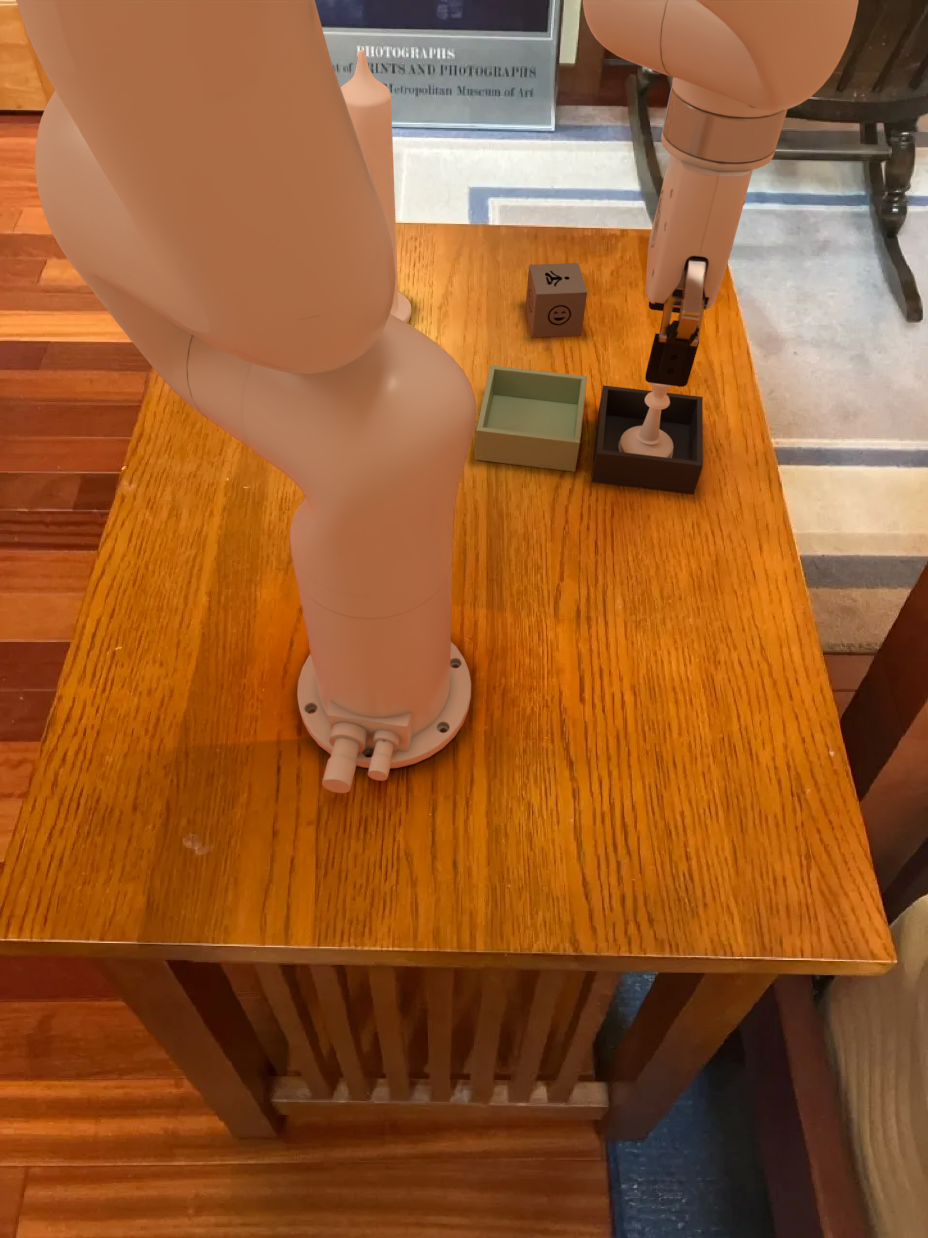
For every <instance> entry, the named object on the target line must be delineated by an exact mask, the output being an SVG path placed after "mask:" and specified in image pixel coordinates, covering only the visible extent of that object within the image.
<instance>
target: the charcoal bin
mask: <svg viewBox="0 0 928 1238" xmlns="http://www.w3.org/2000/svg"><path fill="white" fill-rule="evenodd" d="M650 392H652V390H647V389H638V388H630V387H622V386H613V385H602V389H601V394H600V399H599V400H600V401H599V405H598V412H597V418H596V430H595V439H594V447H593V448H594V450H593V459H592V460H593V461H592V468H591V469H592V470H591V481H590V482H591V483H596V484H603V485H604V484H605V485H613V486H620V487H629V488H637V489H645V490H653V491H660V492H661V491H662V492H671V493H676V494H686V495H695V493H696V489H697V485H698V483H699V480H700V476H701V473H702V469H703V467H704V434H703V431H704V427H703V426H704V423H703V421H704V418H703V417H704V416H703V415H704V414H703V413H704V412H703V411H704V410H703V408H704V407H703V405H704V404H703V403H704V402H703V401H704V397H703V396H700V395H699V396H698V395H691V394H682V393H674V392H668V393H667V394H666V395H667V396H668V397H669V400H670V404H669V406H668V407H667V408H665V409H662V410H661V415H660V426H659V429H660V430H662V431H664V432H665V433H666V434H667V435H668V436H669V437H670V438H671V440H672V442H673V456H672V458H666V457H658V456H650V455H641V454H633V453H625V452H619V449H618V444H619V441H620V439H621V436H622V435H623V433H624V432H625V431H626V430H628V429H630V428H632V427H636V426H643V423H644V421H645V418H646V416H647V413H648V410H649V408H650V407H649V406H647V405H646V403H645V397H646V396H647V394H648V393H650Z"/></svg>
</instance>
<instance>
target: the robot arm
mask: <svg viewBox="0 0 928 1238" xmlns="http://www.w3.org/2000/svg"><path fill="white" fill-rule="evenodd" d="M15 1H16V4H17V8H18V11H19V14H20V18H21V20H22V22H23V26H24V29H25V31H26V34H27V37H28V39H29V42H30V44H31V46H32V48H33V51H34V53H35V55H36V57H37V59H38V61H39V64H40V65H41V67H42V69H43V72H44V73H45V75H46V77H47V78H48V80H49V82H50V84H51V86H52V87H53V89H54V92H53V93H52V95H51V97H50V98H49V101H48V102H47V104H46V106H45V108H44V110H43V113H42V116H41V119H40V122H39V125H38V129H37V134H36V141H35V151H34V172H35V181H36V188H37V193H38V198H39V201H40V204H41V209H42V211H43V214H44V217H45V220H46V222H47V225H48V227H49V230H50V231H51V234H52V236H53V237H54V239H55V241H56V243H57V244H58V246H59V248H60V250H61V251H62V253H63V255H64V256H65V257H66V259H67V260H68V262H69V263H70V265H72V267H73V268H74V269H75V271H76V272H77V274H78V275H79V276H80V278H81V279H82V280H83V281H84V283H85V284H86V285H87V286H88V288H89V289H90V290H91V292H92V293H93V294H94V295H95V296H96V298H97V299H98V300H99V302H100V303H101V304H102V306H103V307H104V308H105V309H106V311H107V312H108V313H109V314H110V315H111V317H112V318H113V320H114V321H115V322H116V324H118V326H119V327H120V328H121V330H122V332H124V333H125V335H126V336H127V337H128V338H129V340H130V341H131V342H132V344H133V345H134V346H135V347H136V348H137V350H138V351H139V353H141V355H142V357H144V359H145V360H146V361H147V362H148V364H149V365H150V366H151V367H152V368H153V370H154V371H155V372H156V373H157V374H158V375H159V376H160V378H161V379H162V380H163V381H164V382H165V383H166V385H167V386H169V388H170V389H171V390H172V391H173V392H174V393H176V395H177V396H178V397H179V398H180V399H181V400H182V401H184V403H185V404H187V405H188V406H189V407H190V408H192V409H193V410H195V411H196V412H197V413H199V414H200V415H201V416H203V417H204V418H206V419H207V420H208V421H210V423H212V424H214V425H215V426H217V427H218V428H220V429H221V430H222V431H224V432H226V433H227V434H228V435H230V436H231V437H233V438H234V439H236V440H237V441H238V442H240V443H241V444H243V445H244V446H246V447H247V448H249V449H250V450H252V451H253V452H254V453H256V454H257V456H259V457H260V458H262V459H263V460H264V461H266V462H267V463H269V464H270V465H272V466H273V467H275V468H276V469H277V470H279V471H280V472H281V473H282V474H284V475H285V476H287V478H289V479H290V480H291V481H292V482H293V483H295V485H296V486H297V487H298V489H300V490H301V492H302V493H303V495H304V496H305V497H304V499H303V500H302V501H301V502H300V504H299V505H298V507H297V509H296V510H295V512H294V514H293V516H292V520H291V524H290V530H289V546H290V554H291V561H292V566H293V570H294V574H295V578H296V584H297V588H298V593H299V599H300V604H301V610H302V615H303V619H304V624H305V625H304V626H305V629H306V635H307V640H308V646H309V651H310V653H309V655H308V656H307V658H306V660H305V662H304V664H303V665H302V667H301V671H300V674H299V676H298V680H297V691H296V696H297V703H298V709H299V713H300V716H301V720H302V723H303V724H304V726H305V728H306V730H307V732H308V735H310V737H311V738H312V739H313V741H315V743H316V744H317V745H318V746H319V747H320V748H322V749H323V750H324V751H326V753H328V754H329V755H330V757H329V758H328V759H327V763H326V767H325V770H324V773H323V777H322V781H321V784H322V786H323V788H324V789H325V790H327V791H329V792H332V793H337V794H346V793H349V792H351V788H352V785H353V781H354V777H355V773H356V768H357V767H360V768H365V769H368V770H367V776H368V777H369V778H370V779H372V780H375V781H379V782H380V781H382V782H385V781H386V780H388V779H389V774H390V770H391V769H398V768H402V767H407V766H412V765H414V764H415V765H416V764H417V763H420V762H421V761H424V760H426V759H429V758H431V757H432V756H433V755H435V754H437V753H438V752H440V751H441V750H443V749H444V748H446V746H447V745H448V744H449V743H450V742H452V740H453V739H454V738H455V737H456V736H457V734H458V732H459V731H460V730H461V728H462V727H463V725H464V723H465V721H466V719H467V716H468V714H469V711H470V705H471V699H472V680H471V674H470V669H469V667H468V664H467V662H466V660H465V657H464V656H463V654H462V653H461V651H460V650H459V649H458V647H457V645H456V644H455V643H453V642H452V603H453V602H452V599H453V595H452V594H453V550H454V549H453V547H454V546H453V543H454V521H455V511H456V503H457V499H458V498H457V497H458V491H459V487H460V483H461V479H462V476H463V471H464V468H465V465H466V461H467V458H468V456H469V452H470V448H471V445H472V441H473V436H474V433H475V430H476V429H475V427H476V419H477V402H476V396H475V392H474V389H473V387H472V384H471V382H470V379H469V378H468V376H467V374H466V373H465V371H464V369H463V368H462V367H461V366H460V364H459V363H458V362H457V361H456V359H455V358H454V357H453V356H452V355H451V354H450V353H449V352H448V351H446V350H445V349H444V348H443V347H442V346H441V344H438V342H436V341H435V340H434V339H432V338H431V337H429V336H428V335H426V334H425V333H424V332H422V331H421V330H419V329H417V328H416V327H414V326H413V325H411V324H409V322H407V323H406V322H404V321H402V320H400V319H399V318H397V317H395V316H393V315H392V314H390V311H391V308H392V305H393V298H394V291H395V267H394V256H393V248H392V243H391V238H390V235H389V231H388V227H387V224H386V220H385V217H384V213H383V210H382V207H381V204H380V200H379V197H378V195H377V192H376V189H375V186H374V183H373V180H372V177H371V174H370V171H369V169H368V166H367V163H366V160H365V157H364V154H363V151H362V148H361V145H360V143H359V140H358V137H357V134H356V131H355V128H354V125H353V122H352V119H351V117H350V114H349V111H348V108H347V105H346V102H345V99H344V96H343V93H342V91H341V85H340V82H339V79H338V77H337V74H336V70H335V68H334V64H333V62H332V59H331V56H330V52H329V48H328V45H327V42H326V38H325V34H324V30H323V27H322V22H321V19H320V15H319V11H318V7H317V3H316V0H15ZM858 6H859V0H582V8H583V13H584V18H585V21H586V24H587V26H588V28H589V30H590V32H591V34H592V35H593V36H594V38H595V40H596V41H597V42H598V43H599V44H600V45H601V46H603V47H604V48H605V49H606V50H607V51H609V52H610V53H612V54H613V55H615V56H617V57H619V58H621V59H623V60H625V61H628V62H630V63H632V64H635V65H638V66H640V67H643V68H646V69H649V70H652V71H654V72H657V73H660V74H662V75H665V76H668V77H671V78H672V81H671V86H670V91H669V95H668V101H667V106H666V111H665V116H664V121H663V125H662V130H661V133H660V141H661V144H662V147H664V149H665V150H666V151H667V153H668V154H669V158H668V160H667V165H666V169H665V173H664V177H663V181H662V186H661V190H660V194H659V197H658V202H657V207H656V211H655V214H654V217H653V218H654V219H653V222H652V226H651V229H650V233H649V239H648V244H647V246H648V247H647V259H646V278H645V296H646V298H647V300H648V309H650V310H652V311H657V312H658V311H660V312H662V316H661V322H660V328H659V333H656V332H655V333H654V336H653V341H652V346H651V348H650V349H651V350H650V354H649V358H648V362H647V366H646V371H645V376H644V377H645V378H644V379H645V381H646V382H647V383H650V384H651V383H656V384H664V385H671V386H672V387H680V388H683V387H687V385H688V382H689V379H690V376H691V372H692V369H693V365H694V362H695V358H696V355H697V351H698V348H699V344H700V335H701V329H702V323H703V318H704V313H705V312H704V311H706V310H708V309H710V308H711V307H713V306H714V305H715V302H716V300H717V297H718V295H719V292H720V289H721V286H722V283H723V279H724V277H725V273H726V271H727V270H726V269H727V266H728V263H729V260H730V256H731V252H732V249H733V245H734V242H735V239H736V235H737V232H738V227H739V225H740V219H741V217H742V213H743V208H744V206H745V204H746V198H747V194H748V189H749V186H750V182H751V178H752V174H753V170H754V171H755V170H758V169H760V168H763V167H765V166H766V165H768V164H769V163H770V162H771V161H772V160H773V158H774V157H775V156H774V155H775V153H776V149H777V145H778V142H779V139H780V135H781V133H782V130H783V125H784V123H785V120H786V116H787V113H788V110H789V109H792V108H794V107H796V106H799V105H801V104H802V103H804V102H806V101H807V100H809V99H811V98H812V96H814V94H815V93H817V92H818V91H819V90H820V89H821V88H822V87H823V86H824V85H825V83H826V82H828V80H829V79H830V77H831V76H832V74H833V73H834V71H835V70H836V68H837V66H838V65H839V63H840V61H841V60H842V57H843V55H844V53H845V51H846V49H847V46H848V44H849V41H850V38H851V36H852V34H853V33H852V32H853V28H854V25H855V21H856V17H857V11H858ZM672 313H675V314H678V316H677V320H676V319H675V320H672V315H673V314H672ZM671 320H672V322H671Z"/></svg>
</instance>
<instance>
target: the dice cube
mask: <svg viewBox="0 0 928 1238" xmlns="http://www.w3.org/2000/svg"><path fill="white" fill-rule="evenodd" d="M525 296H526V297H525V307H524V308H525V312H526V316H527V322H528V326H529V330H530V334H531V339H536V338H537V339H539V338H559V337H560V338H561V337H562V338H563V337H579V336H580V337H581V336H582V333H583V332H582V331H583V323H584V317H585V311H586V303H587V297H588V290H587V286H586V283H585V280H584V277H583V273H582V270H581V267H580V264H579V262H565V263H544V264H543V263H541V264H540V263H539V264H538V263H537V264H529V265H528V273H527V285H526V294H525Z"/></svg>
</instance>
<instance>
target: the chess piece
mask: <svg viewBox="0 0 928 1238" xmlns="http://www.w3.org/2000/svg"><path fill="white" fill-rule="evenodd" d="M650 384H651V391H652V392H650V393H648V394H647V396H646V397H645V403H646V405H647V406H649V407H650V408H649V410H648V413H647V416H646V418H645V421H644V423H643V426H636V427H632V428H630V429H628V430H626V431H625V432H624V433H623V435H622V436H621V439H620V441H619V444H618V449H619V452H625V453H633V454H641V455H650V456H658V457H666V458H672V456H673V442H672V440H671V438H670V437H669V436H668V435H667V434H666V433H665V432H664V431H662V430H660V429H659V426H660V415H661V410H662V409H665V408H667V407H668V406H669V404H670V400H669V397H668V396H667V395H666V394H667V393H669V391H670V389H671V388H672V387H673V386H671V385H664V384H656V383H650Z"/></svg>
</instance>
